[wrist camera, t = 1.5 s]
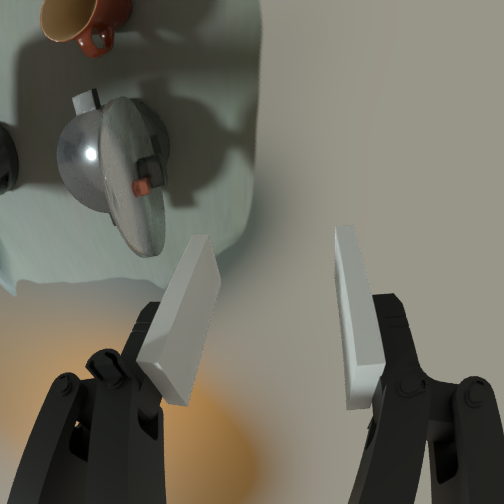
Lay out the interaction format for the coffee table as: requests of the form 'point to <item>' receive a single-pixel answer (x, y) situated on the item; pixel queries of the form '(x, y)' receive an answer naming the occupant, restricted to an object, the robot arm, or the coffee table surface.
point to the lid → (132, 177)
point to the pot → (96, 149)
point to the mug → (84, 22)
